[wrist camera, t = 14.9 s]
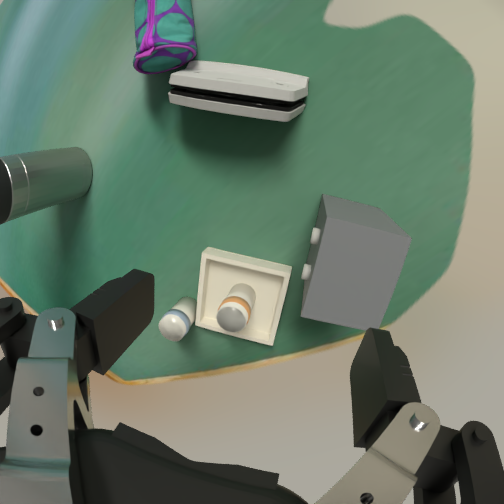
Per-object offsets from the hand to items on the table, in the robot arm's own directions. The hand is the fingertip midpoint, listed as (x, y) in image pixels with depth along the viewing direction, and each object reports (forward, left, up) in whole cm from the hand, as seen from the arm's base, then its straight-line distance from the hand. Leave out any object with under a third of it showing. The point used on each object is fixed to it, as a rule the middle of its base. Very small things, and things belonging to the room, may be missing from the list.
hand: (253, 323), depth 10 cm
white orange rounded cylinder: (-5, -16, -30) cm, 34 cm away
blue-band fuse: (-13, -21, -30) cm, 39 cm away
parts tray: (-5, -16, -30) cm, 34 cm away
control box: (+7, -4, -30) cm, 31 cm away
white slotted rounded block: (-10, +13, -30) cm, 34 cm away
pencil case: (-22, +25, -30) cm, 45 cm away
